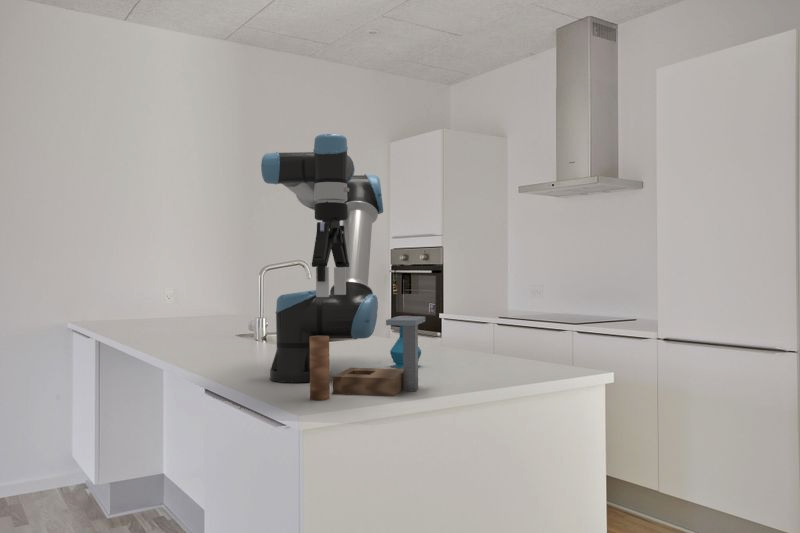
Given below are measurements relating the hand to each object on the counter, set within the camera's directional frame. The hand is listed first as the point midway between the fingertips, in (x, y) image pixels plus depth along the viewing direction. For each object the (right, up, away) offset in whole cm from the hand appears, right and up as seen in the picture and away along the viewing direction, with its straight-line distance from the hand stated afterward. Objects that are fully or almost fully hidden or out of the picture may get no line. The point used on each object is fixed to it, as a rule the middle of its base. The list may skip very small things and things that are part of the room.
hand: (331, 295), depth 153 cm
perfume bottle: (+17, -23, +45) cm, 54 cm away
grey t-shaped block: (+17, -23, +8) cm, 30 cm away
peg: (-3, -23, -2) cm, 23 cm away
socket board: (+9, -23, +9) cm, 26 cm away
